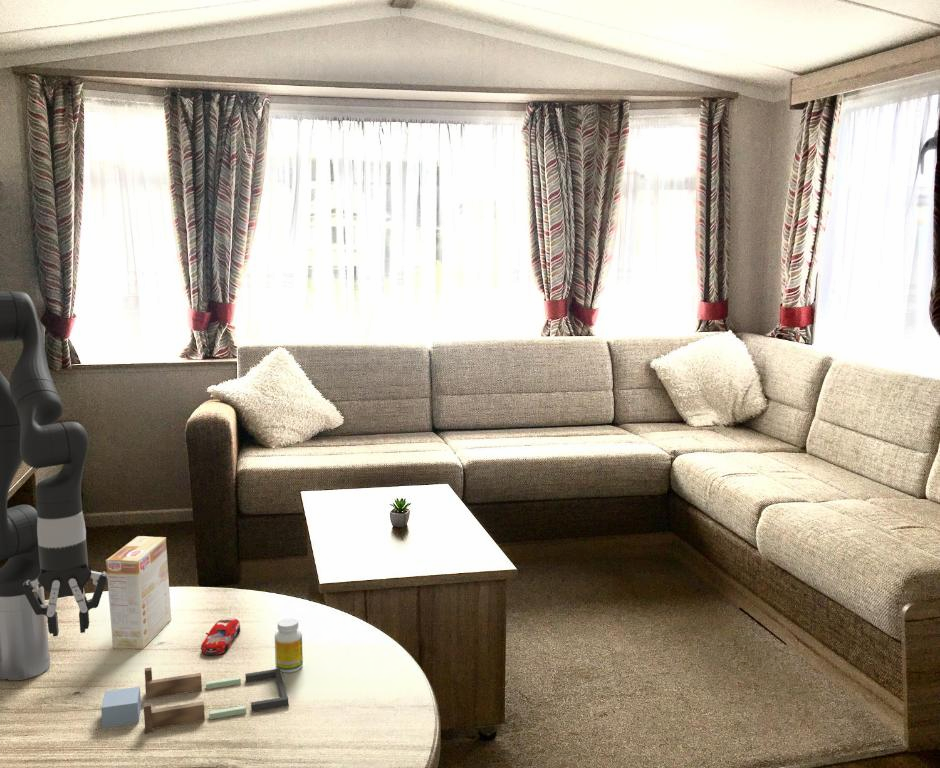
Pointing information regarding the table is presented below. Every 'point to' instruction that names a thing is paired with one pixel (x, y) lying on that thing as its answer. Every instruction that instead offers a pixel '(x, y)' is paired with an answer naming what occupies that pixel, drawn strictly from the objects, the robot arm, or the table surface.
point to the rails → (228, 710)
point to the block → (121, 707)
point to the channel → (173, 713)
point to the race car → (221, 636)
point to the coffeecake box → (138, 592)
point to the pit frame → (271, 702)
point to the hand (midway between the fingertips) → (69, 632)
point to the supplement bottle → (288, 646)
